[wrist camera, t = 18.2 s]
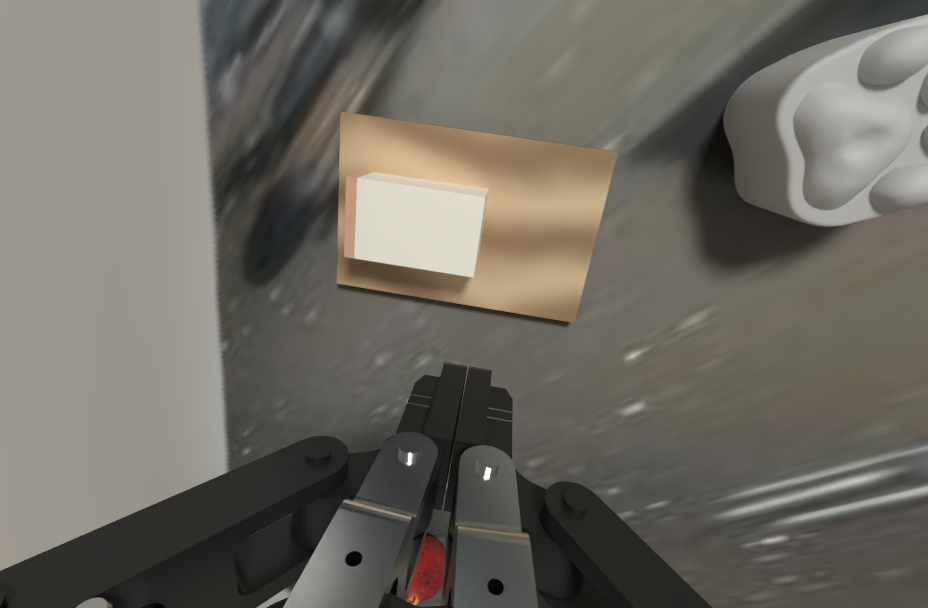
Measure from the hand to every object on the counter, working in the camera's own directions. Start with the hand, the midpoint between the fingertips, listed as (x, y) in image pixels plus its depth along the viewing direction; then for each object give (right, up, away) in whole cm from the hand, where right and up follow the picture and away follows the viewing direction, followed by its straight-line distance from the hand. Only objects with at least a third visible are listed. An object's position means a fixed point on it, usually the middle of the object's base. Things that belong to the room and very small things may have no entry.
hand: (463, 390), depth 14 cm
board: (0, +10, +23) cm, 25 cm away
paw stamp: (+26, +16, +18) cm, 35 cm away
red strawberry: (-4, -24, +38) cm, 45 cm away
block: (+1, +8, +20) cm, 22 cm away
